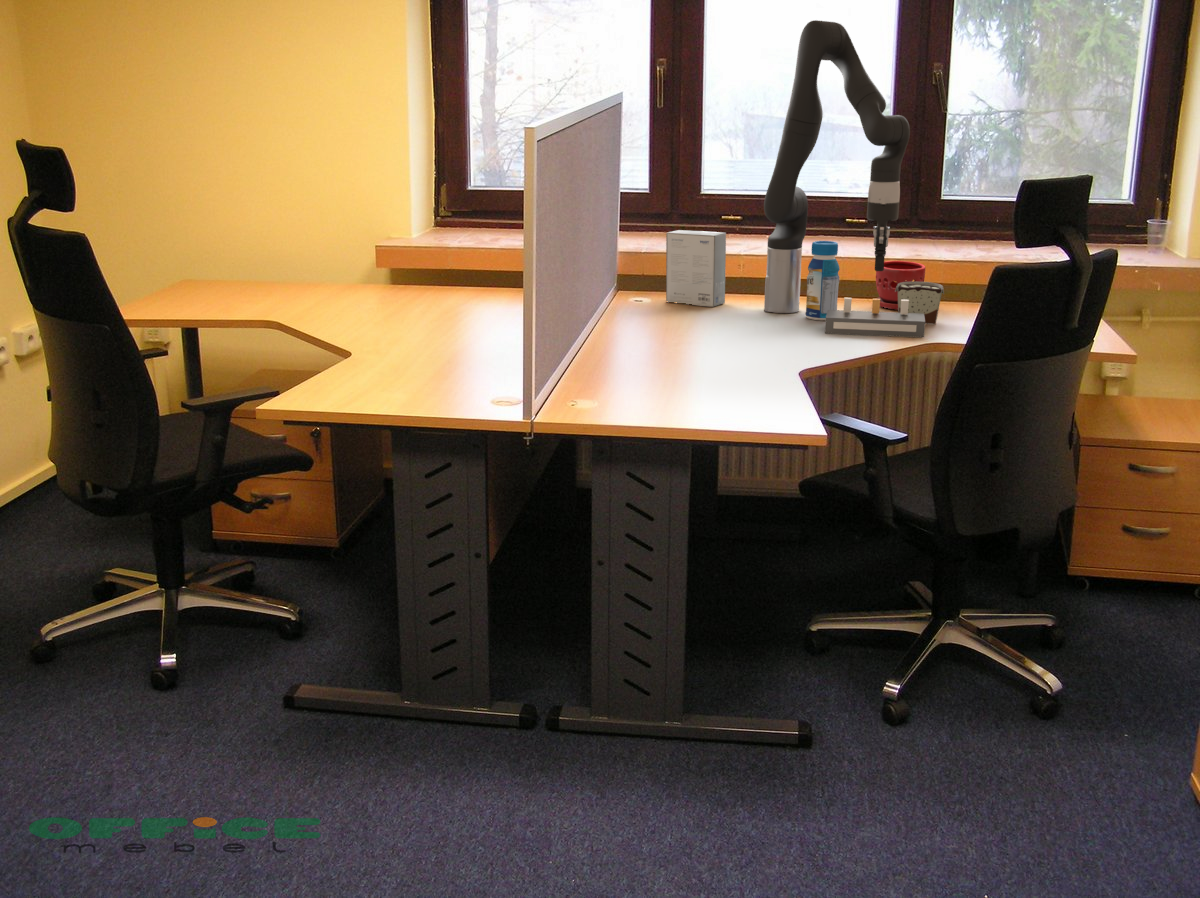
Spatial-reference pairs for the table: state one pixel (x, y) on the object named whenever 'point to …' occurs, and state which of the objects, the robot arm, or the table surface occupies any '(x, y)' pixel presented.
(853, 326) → the breaker block
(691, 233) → the hard drive box
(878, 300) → the switch mid
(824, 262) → the beverage bottle
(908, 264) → the plant pot
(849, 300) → the switch left
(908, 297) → the food container
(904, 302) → the switch right
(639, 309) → the table surface
